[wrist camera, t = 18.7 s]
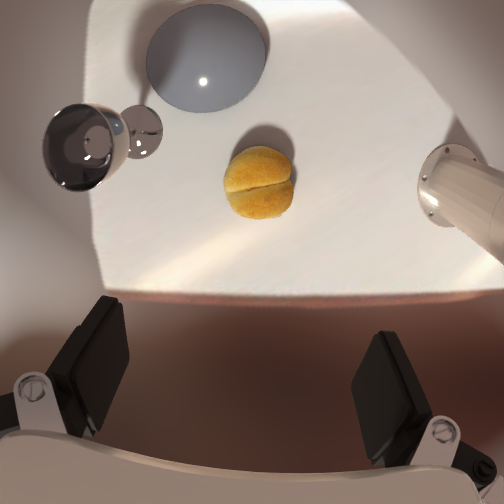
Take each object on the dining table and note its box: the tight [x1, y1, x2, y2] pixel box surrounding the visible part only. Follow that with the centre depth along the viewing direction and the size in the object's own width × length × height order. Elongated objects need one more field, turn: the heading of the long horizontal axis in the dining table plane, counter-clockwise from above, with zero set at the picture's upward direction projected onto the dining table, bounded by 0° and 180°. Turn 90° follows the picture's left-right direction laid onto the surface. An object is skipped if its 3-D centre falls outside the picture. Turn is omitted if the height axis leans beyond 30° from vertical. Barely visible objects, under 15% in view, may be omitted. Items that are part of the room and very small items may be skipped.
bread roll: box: [224, 146, 294, 220], centre depth 36 cm, size 8×9×4 cm
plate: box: [146, 4, 265, 113], centre depth 31 cm, size 14×14×2 cm
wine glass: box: [42, 103, 163, 192], centre depth 29 cm, size 8×8×15 cm
